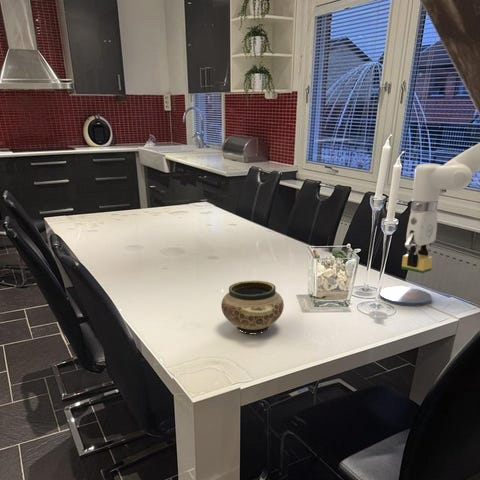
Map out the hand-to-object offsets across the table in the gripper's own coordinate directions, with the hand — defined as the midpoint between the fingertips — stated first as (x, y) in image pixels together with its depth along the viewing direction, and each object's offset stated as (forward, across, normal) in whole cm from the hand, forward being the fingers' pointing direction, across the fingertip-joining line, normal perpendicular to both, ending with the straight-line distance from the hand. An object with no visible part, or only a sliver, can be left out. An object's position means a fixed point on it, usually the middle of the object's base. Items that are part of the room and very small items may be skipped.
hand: (416, 264), depth 149 cm
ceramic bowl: (+14, -52, +20) cm, 58 cm away
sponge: (+2, 0, 0) cm, 2 cm away
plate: (+14, +5, +6) cm, 16 cm away
